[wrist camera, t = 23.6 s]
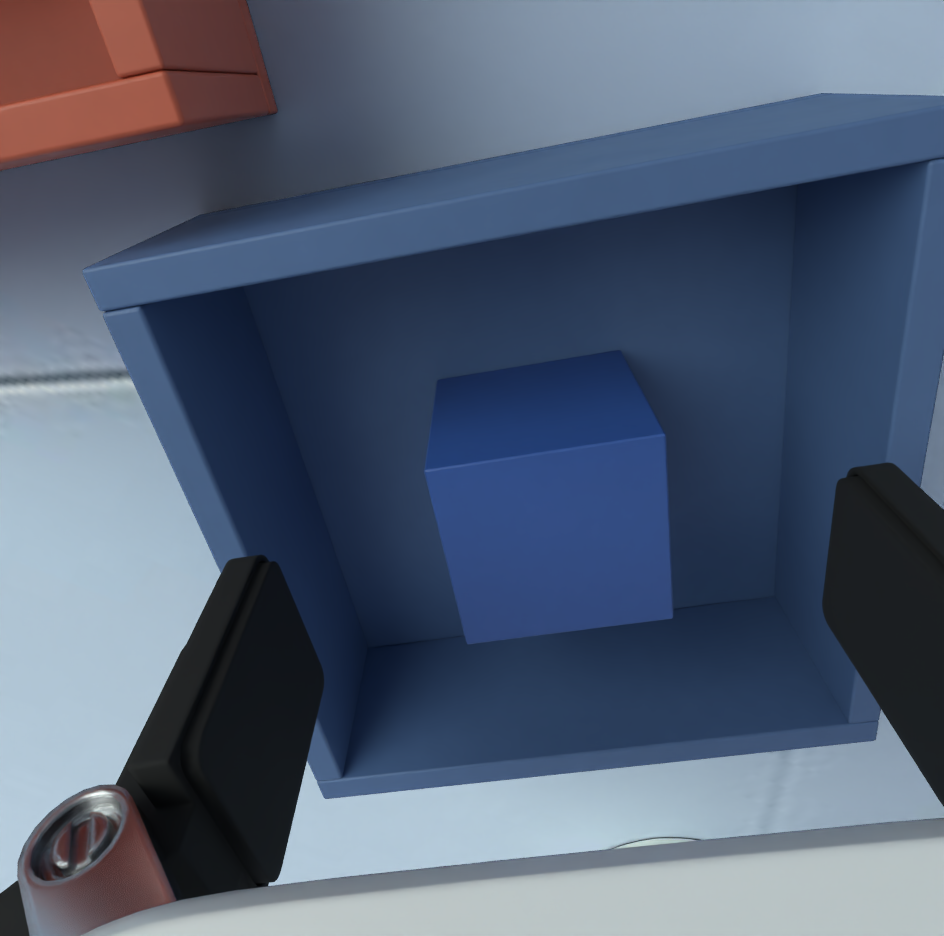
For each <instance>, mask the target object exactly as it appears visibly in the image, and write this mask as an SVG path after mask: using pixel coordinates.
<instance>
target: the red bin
mask: <svg viewBox="0 0 944 936" xmlns="http://www.w3.org/2000/svg"><path fill="white" fill-rule="evenodd" d="M275 113H277V107H276V103H275V100H274V96H273V93H272V89H271V86H270V82H269V79H268V75H267V72H266V68H265V65H264V61H263V57H262V54H261V50H260V47H259V43H258V40H257V36H256V33H255V29H254V26H253V22H252V19H251V15H250V12H249V8H248V5H247V1H246V0H0V171H2V170H7V169H11V168H16V167H21V166H26V165H31V164H35V163H40V162H45V161H50V160H55V159H59V158H64V157H69V156H74V155H79V154H83V153H88V152H93V151H98V150H103V149H107V148H112V147H117V146H122V145H127V144H131V143H136V142H141V141H146V140H151V139H155V138H160V137H165V136H170V135H175V134H179V133H184V132H189V131H194V130H199V129H203V128H208V127H213V126H218V125H223V124H227V123H232V122H237V121H242V120H247V119H251V118H256V117H261V116H266V115H271V114H275Z"/></svg>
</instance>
